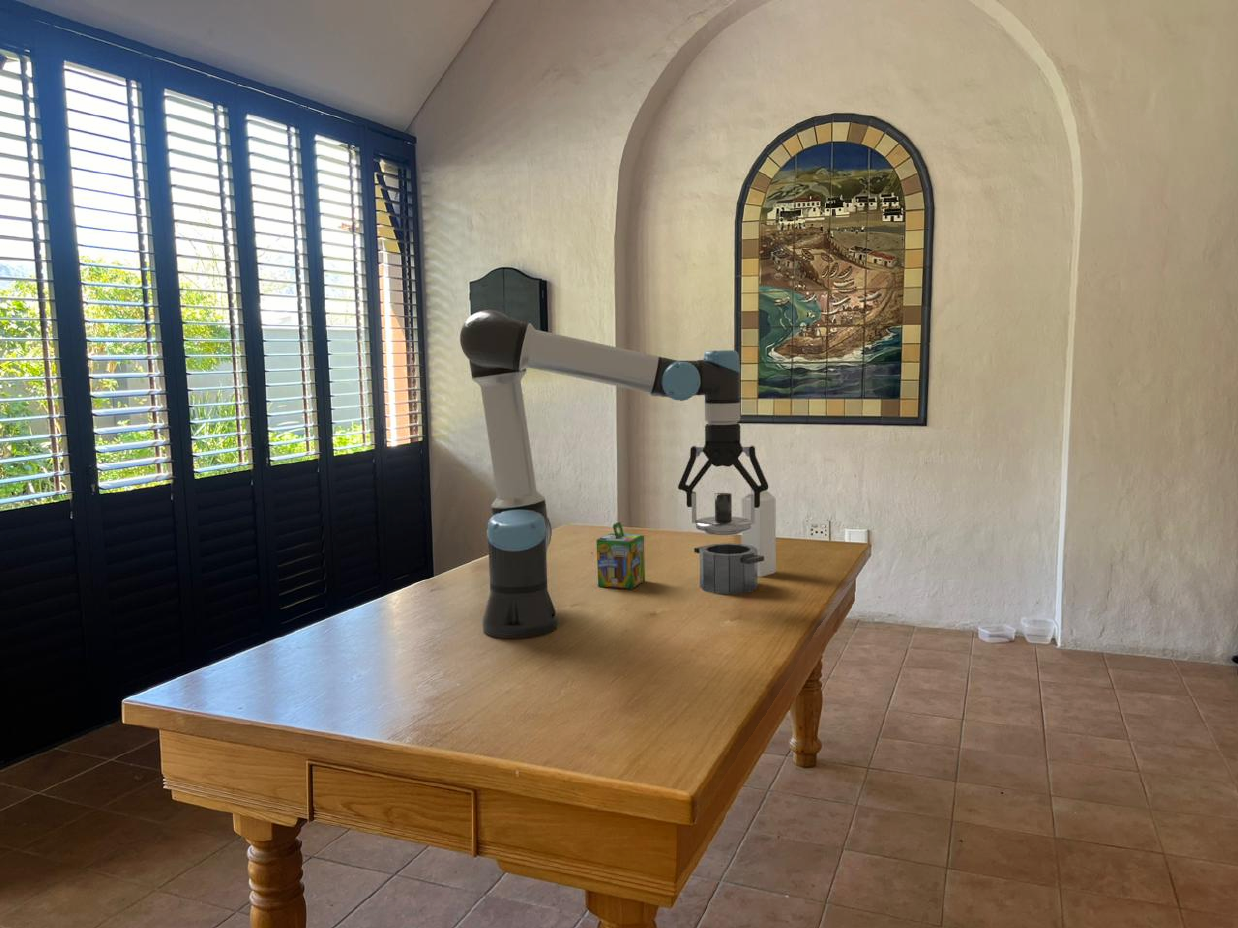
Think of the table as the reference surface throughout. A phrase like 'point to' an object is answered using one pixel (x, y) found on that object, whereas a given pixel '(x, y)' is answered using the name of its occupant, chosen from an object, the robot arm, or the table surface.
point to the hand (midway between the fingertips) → (723, 522)
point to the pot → (728, 568)
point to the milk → (762, 531)
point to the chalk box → (620, 559)
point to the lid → (723, 518)
